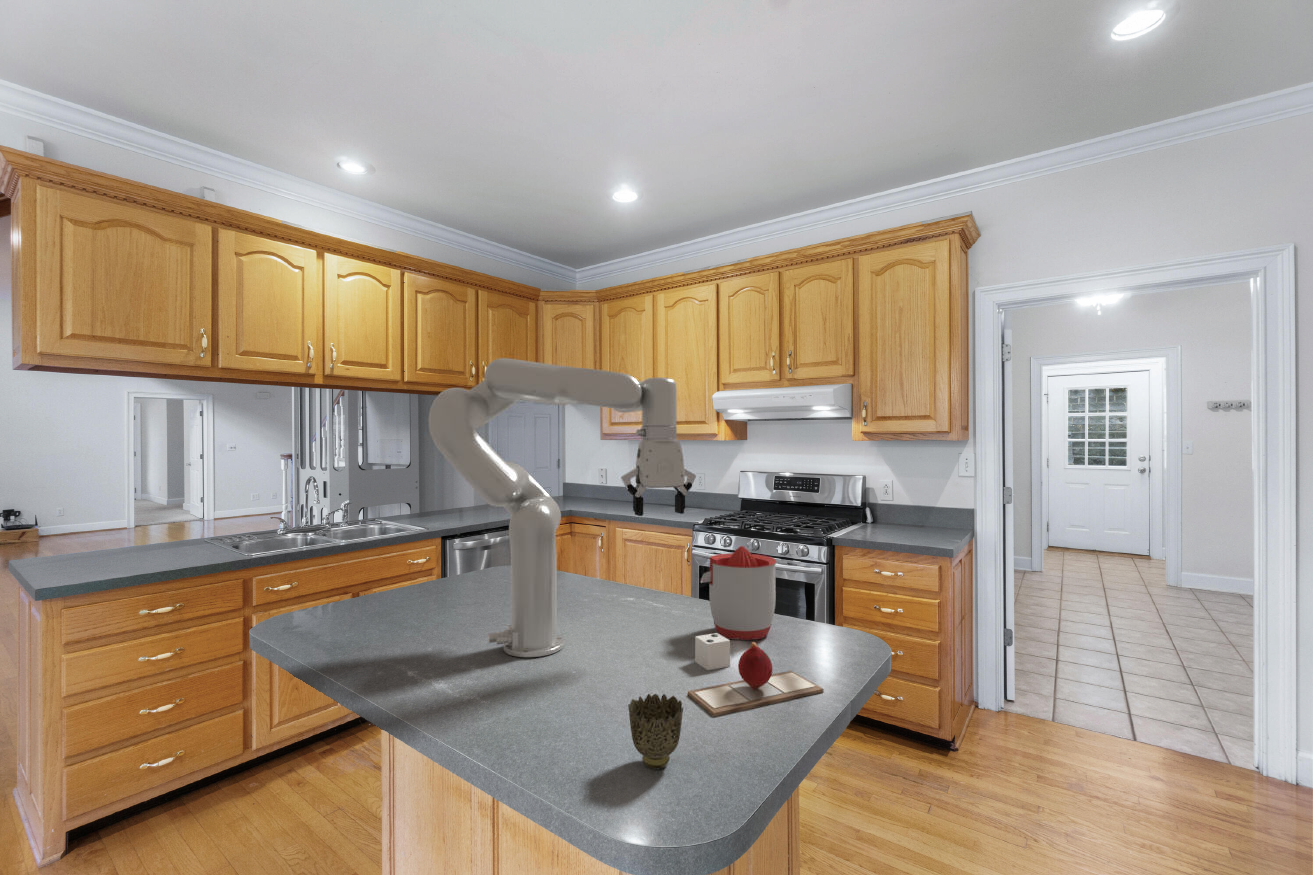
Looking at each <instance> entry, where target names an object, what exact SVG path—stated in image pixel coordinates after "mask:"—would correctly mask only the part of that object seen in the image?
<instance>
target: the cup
mask: <svg viewBox="0 0 1313 875" xmlns="http://www.w3.org/2000/svg"><path fill="white" fill-rule="evenodd" d="M627 708H628V714H629V715H628V717H629V725H630V733H631V740H632V743H633V745H634V748H635V749H636V751H637V752H638V753H639V754H640V755H641V756H642V757H641V759H642V762H643V764H644V766H645V767H647V769H651V770H661V769H663V768H666V767H667V766H668V765H669V762H670V755H672V754H673V753H674V752H675V750H676V749H677V748H678V744H679V742H680V737H681V731H682V723H683V722H682V720H683V713H684V707H683V702H682V700H678V698H677V697H676V696H675V695H672V696H671V697H669V698H668V697H667V696H666V694H665V693H663V694H662V695H661V698H660V696H659V695H658V694H657V693H654V694H653V695H652V696H651V694H650V693H648V694H647V696H645V698H643V697H642V696H641V695H640V696H639V697H638V700H636V699H633V698H632V699H631V701H630V703H629V704H628V707H627Z"/></svg>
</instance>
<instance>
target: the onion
mask: <svg viewBox="0 0 1313 875" xmlns="http://www.w3.org/2000/svg"><path fill="white" fill-rule="evenodd" d="M737 664H738V665H737V666H738V672H739V673H738V674H739V675H740V677H741V680H744V681H745V682H746V683H747V684H748V685H749V686H750V687H751V688H752V689H758V688H759V687H761V686H763V685H764V684H766V683H767V682H768V681H769V679H770V677H771V675H772V674H773V671H774V670H773V664H772V661H771V659H770V657H769V655H768V654H767V653H766V652H765V651H764V650H763V649H762V648H761V647H760V646H759V645H757V643H756V642H754V641H751V645H750V648H748V649H746V650H745V651H744V652H743V653H742V655H741V656H740V658H739V660H738V663H737Z"/></svg>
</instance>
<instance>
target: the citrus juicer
mask: <svg viewBox="0 0 1313 875" xmlns="http://www.w3.org/2000/svg"><path fill="white" fill-rule="evenodd" d="M776 564H777V559H776V558H774V557H771V556H768V555H762V554H757V553H751V552H750V550H748V549H747V548H746V547H745V546H743V545H740V546H739V547H738V548H737V549H736V550H734V552H733V553H720V554H715V555H712V556H710V557H709V571H706V572H704V573H703V574H702V577H701V579H700V583H701V584H702V583H709V585H708V586H709V587H708V588H709V594H708V595H709V596H708V597H709V606H710V612H711V616H712V620H713V624H714V628H715V630H716V631H717V632H716V633H718V634H719V635H721V636H723V637H725V638H726V639H728V640H733V639H734V640H741V641H742V640H745V641H746V640H749V641H750V640H762V639H763V638H764V637H766V636H767V635H768V634H769V632H770V629H771V626H772V623H773V619H774V615H775V609H776V596H777V595H776V593H777V592H776Z"/></svg>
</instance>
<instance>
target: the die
mask: <svg viewBox="0 0 1313 875" xmlns="http://www.w3.org/2000/svg"><path fill="white" fill-rule="evenodd" d="M694 640H695V641H694V642H695V644H694V648H695V649H694V650H695V651H694V652H695V655H694V658H695V663H697V664H698V665H699V666H701V667H702V668H704V669H705V670H706V671H712V670H717V669H723V668H728V667H731V641H730V640H731V639H728V638H726V637H725V636H722V635H720V634H719V633H718V632H715V633H709V634H708V633H707V634H701V635H696V636H695V639H694Z"/></svg>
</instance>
